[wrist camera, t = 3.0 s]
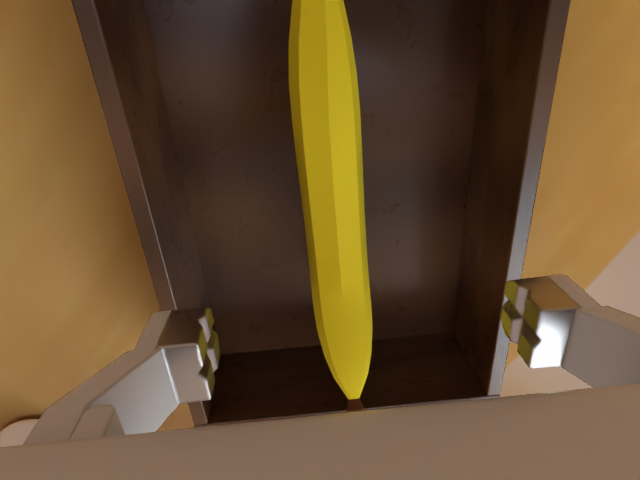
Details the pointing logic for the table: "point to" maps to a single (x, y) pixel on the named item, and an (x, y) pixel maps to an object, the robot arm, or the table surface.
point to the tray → (378, 177)
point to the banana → (332, 186)
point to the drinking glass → (16, 432)
